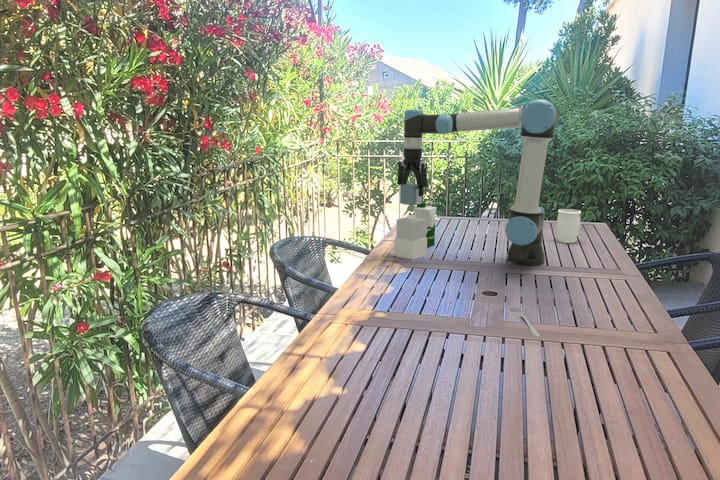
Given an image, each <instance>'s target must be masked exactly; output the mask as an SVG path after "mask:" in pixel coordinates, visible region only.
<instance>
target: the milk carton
mask: <svg viewBox="0 0 720 480" xmlns="http://www.w3.org/2000/svg"><path fill="white" fill-rule="evenodd" d="M413 211H414V212H413V213H414V217H415V218H421V219H426V237H427V249H428V248H429V247H432V246H435V243H436V242H435V240H436V239H435V238H436V236H435V235H436V233H435V232H436V214H437V207H436V206H431V205H427V202H425V201H423V203H422V204H418V205H416V206H414V207H413Z"/></svg>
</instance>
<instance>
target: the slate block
mask: <svg viewBox="0 0 720 480" xmlns="http://www.w3.org/2000/svg"><path fill="white" fill-rule="evenodd" d="M399 186H400V187H399V188H400V189H399V194H400V195H399V204H400V205H406V206H407V205H408V206H417V205H418V204H416V189H417V188H418V185H417V183H414V182H407V183H406V184H401V185H399ZM424 194H425V193H424V188H423V196H422V202H421V204H422V203H423V202H424Z"/></svg>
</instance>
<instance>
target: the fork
mask: <svg viewBox="0 0 720 480" xmlns="http://www.w3.org/2000/svg"><path fill="white" fill-rule="evenodd" d="M509 305H510V308H511V311H512V313H513V314H515V315H517V314H524V312H523V311H522V309H521V306H520V305H519V304H516V303H510V304H509ZM517 317H519V318H522V319H523V320H524V321H525V322H526V325H527V326H528V328H529V330H530V332H531V333H532V335H534V336H536V337H540V333H539V332H538V330H536V329H535V327H534V326H533V325H532V324H531V323H530V321H529V320H528V319H527V318H526V316H525V315H517Z"/></svg>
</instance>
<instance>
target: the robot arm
mask: <svg viewBox="0 0 720 480" xmlns="http://www.w3.org/2000/svg"><path fill="white" fill-rule="evenodd" d="M403 118H404V120H403V128H404V129H403V132H404V133H403V157H404V159H403V160H402V161H398V163H397V164H398V172H397V180H396V185H399V186H400V185H401V184H408V180H409V177H410V173H411V172H412V173H413V175H414V177H415V181H416V184H417V185H418V188H417V189H416V204H421V202H422V196H423V197H424V194H423V188H428V175H427V167H428V163H427V162H422V156H423V155H422V154H423V149H422V147H423V134H434V135H435V134H436V135H449V134H450V133H458V132H472V131H473V132H474V131H475V132H476V131H486V130H487V131H488V130H489V131H490V130H503V129H504V130H505V129H516V128H518V129H519V128H520V135H519V136H520V138H521V139H522V142H523V145H522V152H521V156H520V157H521V159H520V166H519V173H518V180H517V185H516V187H517V188H516V195H515V200H514V204H512V206H510V207H509V214H508V221H507V222H506V224H505V227H504V228H505V229H504V231H505V235H506V238H507V239H508V240H509V241H510V242H511V244H510V246H509V248H508V250H507V253H506V260H507V261H509V262H511V263H512V264H513V263H514V264H518V265H525V266H537V265H542V264H544V263H546V255H545V251H544V247H543V232H544V219H545V215H546V213H545V208H544V207H542V206H539V204H540V197H541V191H542V184H543V177H544V171H545V163H546V158H547V152H548V145H549V142H551V141H552V140H553V139H554V134H555V129H556V125H557V124H558V121H559V118H560V111H559V108H558V106H557V105H556V104H555V103H554V102H552V101H551V100H548V99H542V98H541V99H539V98H538V99H534V100H532V101H530V102H529V103H527V104H522V105H521V106H520V107H516V108H515V107H513V108H505V109H504V108H503V109H492V110H483V111H481V110H480V111H471V112H470V111H469V112H461V113H460V112H459V113H447V114H445V113H443V114H439V113H438V114H425V113H424V111H423V109H406V110H405V112H404V117H403Z"/></svg>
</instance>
